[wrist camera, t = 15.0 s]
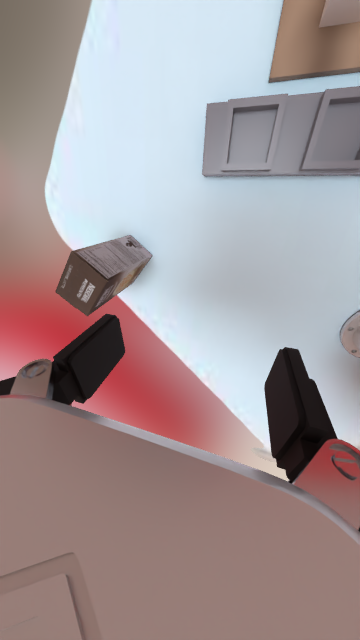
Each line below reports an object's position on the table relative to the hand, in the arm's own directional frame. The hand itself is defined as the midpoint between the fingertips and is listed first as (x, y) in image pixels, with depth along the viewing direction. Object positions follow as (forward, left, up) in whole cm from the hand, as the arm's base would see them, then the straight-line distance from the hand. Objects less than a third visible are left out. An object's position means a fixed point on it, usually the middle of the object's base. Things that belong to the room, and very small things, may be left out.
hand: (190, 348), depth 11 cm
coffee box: (+20, +4, -28) cm, 35 cm away
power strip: (-6, -14, -28) cm, 32 cm away
